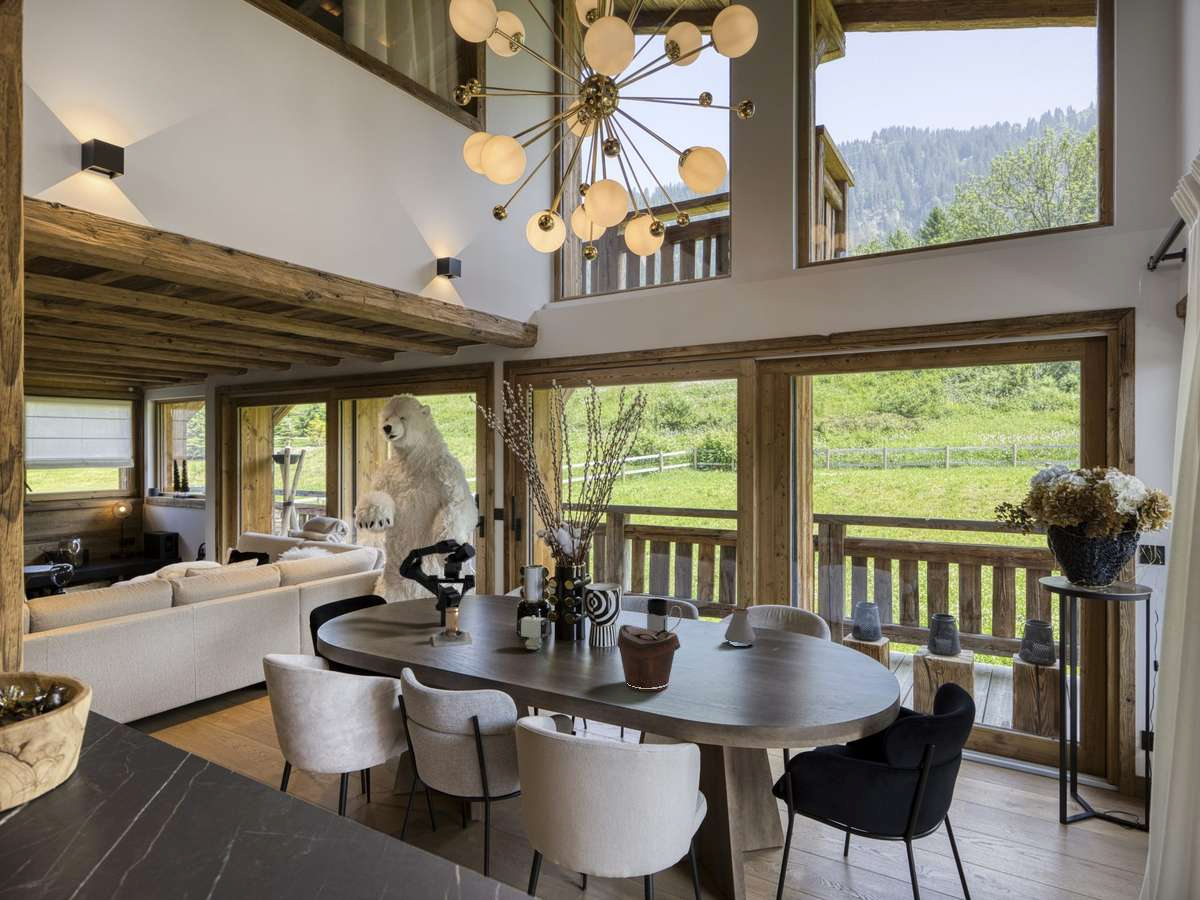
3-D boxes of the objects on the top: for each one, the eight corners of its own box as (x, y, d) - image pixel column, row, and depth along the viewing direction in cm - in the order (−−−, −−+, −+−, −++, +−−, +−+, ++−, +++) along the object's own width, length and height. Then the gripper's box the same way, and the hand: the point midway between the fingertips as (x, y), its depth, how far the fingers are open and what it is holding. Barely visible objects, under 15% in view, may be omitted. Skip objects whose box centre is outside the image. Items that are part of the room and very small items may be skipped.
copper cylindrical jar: (444, 636, 265) (445, 607, 265) (458, 635, 266) (458, 606, 266) (445, 639, 260) (446, 610, 260) (459, 638, 261) (460, 609, 261)
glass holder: (650, 635, 271) (650, 597, 271) (685, 640, 265) (685, 600, 265) (642, 641, 263) (642, 601, 263) (677, 645, 257) (677, 605, 257)
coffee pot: (751, 650, 251) (751, 609, 251) (720, 646, 256) (720, 605, 256) (764, 636, 270) (764, 598, 271) (735, 633, 275) (735, 595, 276)
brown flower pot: (690, 691, 206) (689, 631, 206) (627, 698, 200) (626, 636, 201) (667, 674, 223) (667, 619, 224) (608, 680, 217) (608, 623, 218)
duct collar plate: (432, 636, 268) (432, 630, 268) (468, 634, 271) (468, 628, 271) (434, 646, 254) (434, 639, 254) (472, 643, 258) (472, 636, 258)
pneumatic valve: (545, 651, 248) (545, 618, 248) (516, 648, 252) (516, 615, 252) (551, 647, 253) (551, 614, 253) (522, 644, 257) (522, 612, 257)
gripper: (428, 555, 278) (423, 587, 267) (474, 554, 279) (471, 587, 268) (431, 571, 285) (426, 603, 274) (476, 570, 287) (473, 603, 276)
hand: (449, 599), depth 273 cm, fingers open, 9 cm apart
